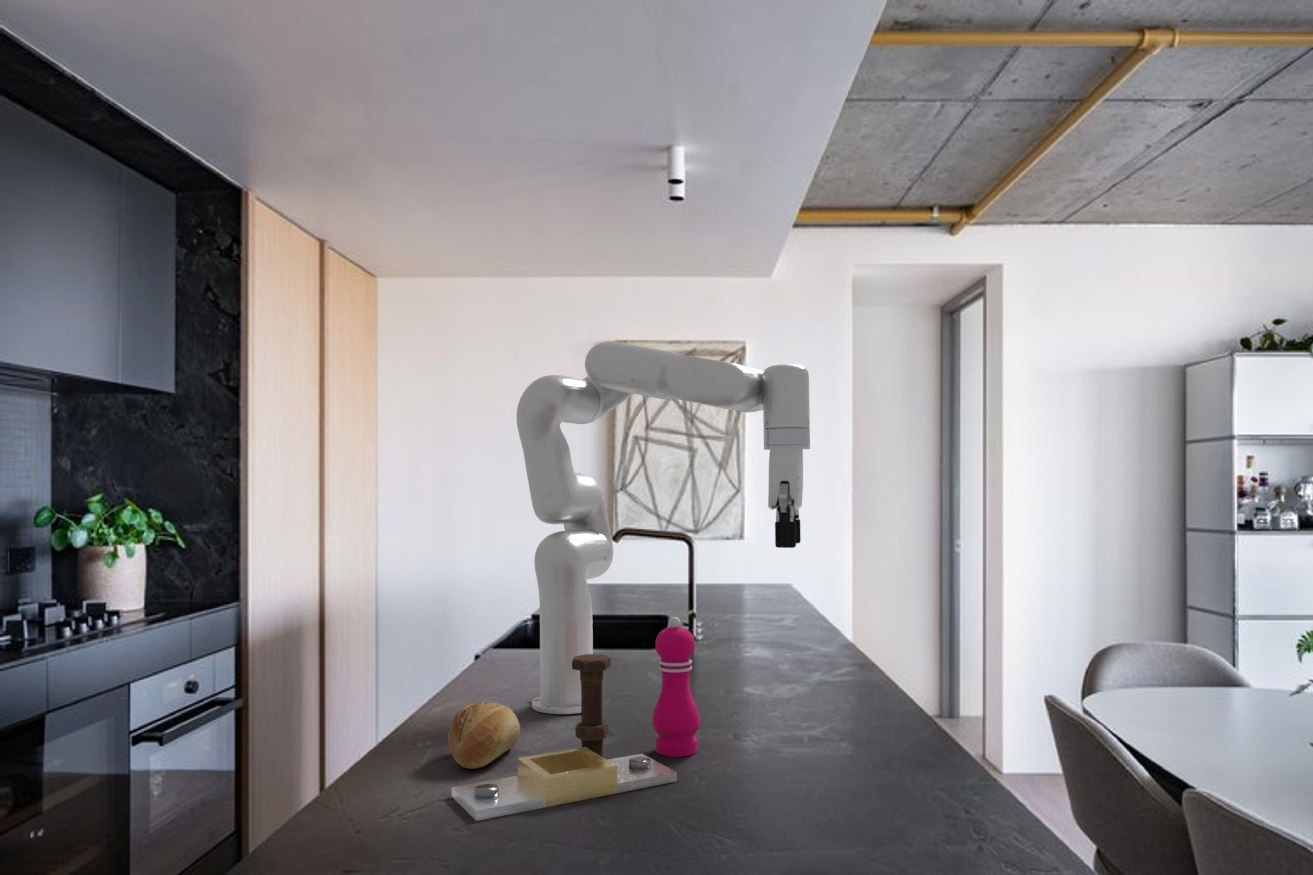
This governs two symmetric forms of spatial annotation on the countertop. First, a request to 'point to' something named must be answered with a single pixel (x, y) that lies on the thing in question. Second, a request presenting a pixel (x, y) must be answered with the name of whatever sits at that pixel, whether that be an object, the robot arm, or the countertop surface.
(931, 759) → the countertop surface
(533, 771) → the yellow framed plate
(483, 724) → the bread roll
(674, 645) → the pepper mill
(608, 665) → the bolt
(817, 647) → the countertop surface
